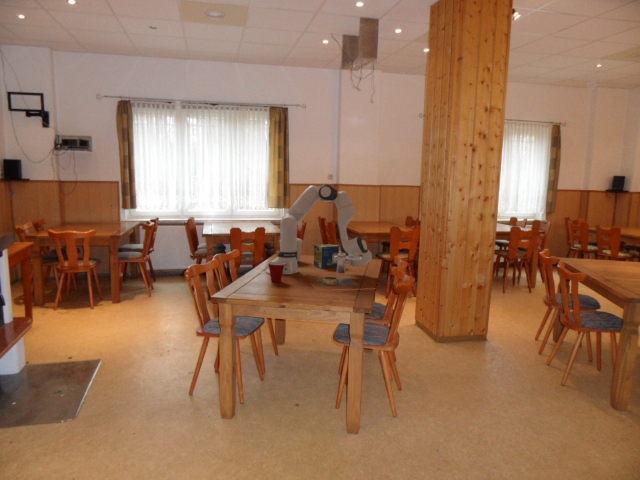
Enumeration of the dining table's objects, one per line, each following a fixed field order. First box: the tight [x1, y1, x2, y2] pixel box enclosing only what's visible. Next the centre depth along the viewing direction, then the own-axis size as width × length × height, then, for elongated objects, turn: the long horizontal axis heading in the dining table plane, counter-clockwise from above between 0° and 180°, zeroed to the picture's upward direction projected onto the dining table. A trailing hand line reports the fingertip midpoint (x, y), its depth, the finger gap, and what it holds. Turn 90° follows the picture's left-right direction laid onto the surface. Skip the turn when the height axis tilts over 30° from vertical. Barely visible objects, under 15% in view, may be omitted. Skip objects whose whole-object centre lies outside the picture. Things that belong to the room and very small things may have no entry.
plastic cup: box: [267, 261, 285, 284], centre depth 277 cm, size 11×11×12 cm
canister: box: [278, 237, 304, 263], centre depth 343 cm, size 18×18×21 cm
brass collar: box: [321, 276, 339, 286], centre depth 272 cm, size 10×10×3 cm
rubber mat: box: [315, 278, 359, 287], centre depth 276 cm, size 23×17×1 cm
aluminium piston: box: [336, 252, 346, 274], centre depth 279 cm, size 5×5×12 cm
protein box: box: [313, 243, 340, 269], centre depth 328 cm, size 10×15×16 cm
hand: (340, 262), depth 278 cm, fingers closed on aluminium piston, 5 cm apart
